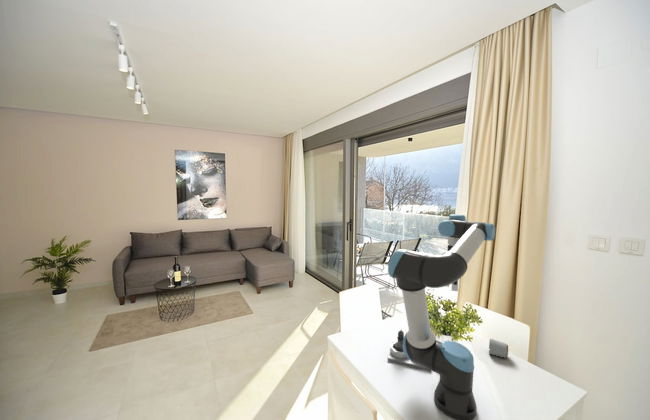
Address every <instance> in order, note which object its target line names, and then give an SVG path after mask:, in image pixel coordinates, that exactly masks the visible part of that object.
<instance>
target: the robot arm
mask: <svg viewBox="0 0 650 420" xmlns="http://www.w3.org/2000/svg"><path fill="white" fill-rule="evenodd" d="M466 220H467V219H466V215H463V214H458V213H457V214H456V213H455V214H453V213H452V214H449V217H448V219H445V220H442V221H441V222H439V224H438V226H437V230H438V232H439V234H440V235H441V236H443V237H447V251H445V252H442V254H431V253H426V252H419V251H413V250H410V249H403V248H399V249H397V250H395V251H394V252H393V253H392V255H391V256H390V259H389V260H388V261H389V262H388V266H387V273H388V275H389V276H390V277H391V278H392V279H395V281H396V286H397V287H398V288H399V290H401V292H402V298H403V304H404V309H405V316H406V321H407V327H408V330H407V331H406V333H404V339H403V352H404V354H405V356H406V357H407V358H408V359H410V360H411V361H413V362H415V363H417V364H419V365H421V366H423V367H426V368H428V369H430V370H431V372H434V373H436V374H438V375H439V380H438V382H437V386H436V387H435V389H434V392H433V401H434V404H435V405H436V407H437V408H438V409H439V411H441V412H442V413H443V414H444V415H446V416H447V417H450V418H451V419H454V420H473V419H475V417H476V415H477V403H476V399H475V396H474V393H473V385H474V370H475V364H474V363H475V362H474V361H475V360H474V356H473V354H472V352H471V351H470V350H469V348H468V347H466V346H464V345H463V344H461V343H460V342H457V341H454V340H444V341H443V342H441V341H439V340H436V338H437V337H436V334H435V333H434V331H433V330H432V329H431V324H430V323H431V322H430V317H429V316H430V315H429V312H428V311H429V309H428V303H427V297H426V296H427V295H426V294H427V293H426V288H430V289H432V288H433V289H436V288H437V289H439V288H443V287H447V286H449V285H451V291H453V292H458V291H459V280H461V278H462V277H464V275H465V274H466V272H467V271H468V267H469V266H468V263H469V262H470V261H471V259H472V258H473V257H474V255H475V254H476V252H477V251H478V250H479V248H480V247H481V245H482V244H483V243H484V241H486V242H487V241H489V242H491V241H493V240H494V239H495V237H496V226H495V224H493V223H490V222H481V221H468V220H467V221H466Z"/></svg>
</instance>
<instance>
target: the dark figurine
mask: <svg viewBox="0 0 650 420" xmlns="http://www.w3.org/2000/svg"><path fill="white" fill-rule="evenodd" d="M404 336H405V332H404V331H402V329H400V330H399V331H398V332H397V338H396V339H397V341H395V342H396V343H395V342H394V343H395V347H396V351H399V352H403V339H404Z"/></svg>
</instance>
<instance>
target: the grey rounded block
mask: <svg viewBox="0 0 650 420" xmlns="http://www.w3.org/2000/svg"><path fill="white" fill-rule="evenodd" d="M488 344H489V345H488V354H489V355H491V354H492V356H495V355H496V356H495V357H498V356H500V358H502V357H504V358H503V359H508V356H509V345H508V344H507V343H505V342H503V341H501V340H496V339H493V338H489V343H488ZM489 349H490V350H489Z"/></svg>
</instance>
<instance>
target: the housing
mask: <svg viewBox="0 0 650 420" xmlns="http://www.w3.org/2000/svg"><path fill="white" fill-rule="evenodd" d="M396 342H397V341H395V342H392V343H391V344H390V347H389V353H388V356H387V362H391V363H396V364H399V365H403V366H406V367H411V368H414V369H419V370H423V371H426V372H430V373H432V370H430V369H428V368H426V367H423V366H421V365H419V364H417V363H415V362H413V361H411V360H410V359H408V358H407V357H406V356H405V354H404V352H399V351H396V347H395V343H396Z"/></svg>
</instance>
